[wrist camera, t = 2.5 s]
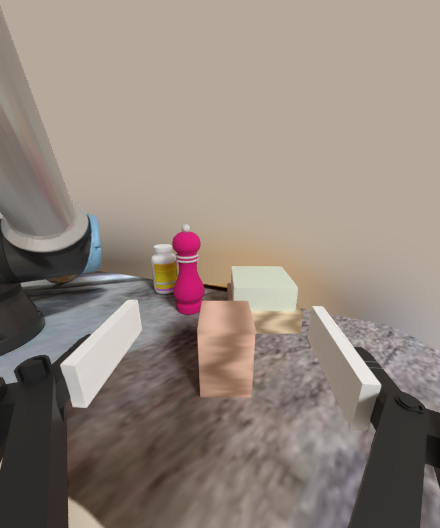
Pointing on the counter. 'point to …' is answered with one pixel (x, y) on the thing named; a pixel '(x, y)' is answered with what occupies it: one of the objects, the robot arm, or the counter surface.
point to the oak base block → (274, 319)
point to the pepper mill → (187, 272)
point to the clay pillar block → (226, 349)
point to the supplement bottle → (164, 269)
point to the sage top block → (264, 288)
